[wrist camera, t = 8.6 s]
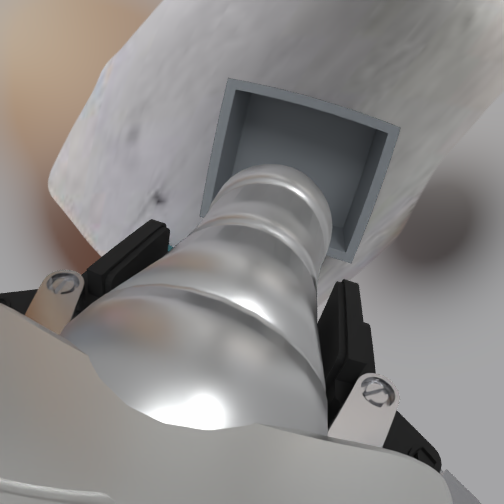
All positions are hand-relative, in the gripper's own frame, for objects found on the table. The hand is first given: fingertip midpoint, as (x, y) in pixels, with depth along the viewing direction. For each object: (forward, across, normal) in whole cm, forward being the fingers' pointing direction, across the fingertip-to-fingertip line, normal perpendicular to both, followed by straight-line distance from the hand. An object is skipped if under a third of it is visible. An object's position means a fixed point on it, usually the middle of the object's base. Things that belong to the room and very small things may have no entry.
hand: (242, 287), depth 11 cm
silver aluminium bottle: (+9, 0, 0) cm, 9 cm away
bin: (+29, 0, 0) cm, 29 cm away
